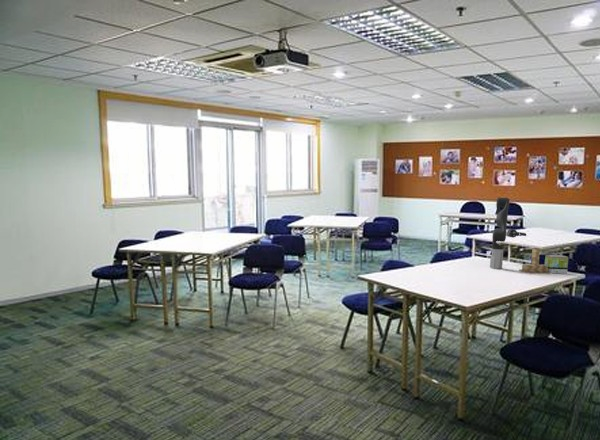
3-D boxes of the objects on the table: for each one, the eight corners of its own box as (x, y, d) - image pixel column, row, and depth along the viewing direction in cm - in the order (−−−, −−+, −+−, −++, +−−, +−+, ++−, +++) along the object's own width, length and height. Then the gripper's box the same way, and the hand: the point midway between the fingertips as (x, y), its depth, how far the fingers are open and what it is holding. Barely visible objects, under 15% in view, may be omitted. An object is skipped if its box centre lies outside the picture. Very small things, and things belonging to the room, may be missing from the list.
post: (534, 265, 392) (535, 249, 391) (531, 264, 396) (532, 248, 395) (538, 265, 392) (539, 249, 392) (535, 264, 396) (536, 248, 396)
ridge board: (529, 273, 386) (529, 266, 386) (519, 270, 399) (519, 263, 399) (550, 273, 390) (550, 266, 389) (539, 270, 403) (540, 263, 402)
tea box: (551, 273, 390) (552, 256, 389) (543, 271, 400) (544, 254, 399) (567, 273, 392) (568, 256, 391) (559, 271, 402) (560, 254, 401)
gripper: (503, 228, 428) (514, 230, 413) (517, 229, 431) (529, 230, 415) (503, 236, 429) (514, 238, 413) (517, 237, 431) (528, 239, 415)
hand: (521, 234), depth 414 cm, fingers open, 8 cm apart
